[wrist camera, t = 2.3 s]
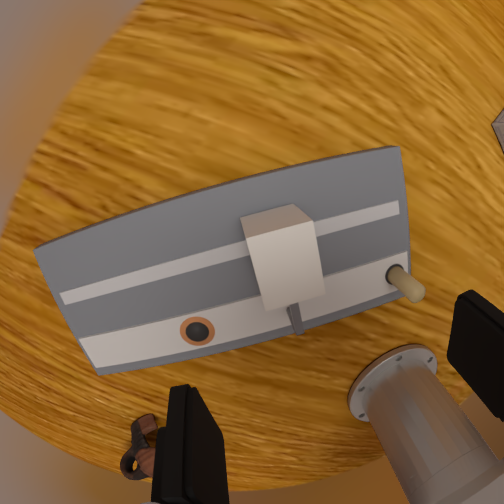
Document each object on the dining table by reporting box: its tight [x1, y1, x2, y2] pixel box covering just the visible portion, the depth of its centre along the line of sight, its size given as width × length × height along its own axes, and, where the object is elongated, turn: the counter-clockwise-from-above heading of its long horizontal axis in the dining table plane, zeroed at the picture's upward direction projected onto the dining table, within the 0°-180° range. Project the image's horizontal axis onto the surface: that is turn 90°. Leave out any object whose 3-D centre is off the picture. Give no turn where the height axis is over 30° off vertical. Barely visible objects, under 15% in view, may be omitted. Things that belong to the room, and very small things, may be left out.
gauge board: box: [33, 146, 426, 375], centre depth 23 cm, size 14×32×6 cm, turn 104°
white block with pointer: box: [240, 204, 326, 335], centre depth 22 cm, size 9×4×5 cm, turn 14°
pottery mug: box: [120, 414, 158, 480], centre depth 31 cm, size 12×10×8 cm
